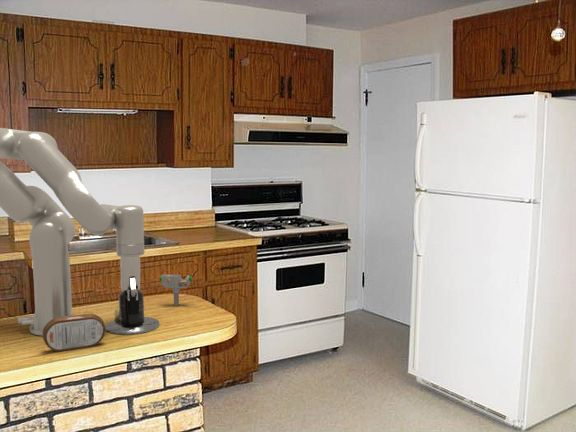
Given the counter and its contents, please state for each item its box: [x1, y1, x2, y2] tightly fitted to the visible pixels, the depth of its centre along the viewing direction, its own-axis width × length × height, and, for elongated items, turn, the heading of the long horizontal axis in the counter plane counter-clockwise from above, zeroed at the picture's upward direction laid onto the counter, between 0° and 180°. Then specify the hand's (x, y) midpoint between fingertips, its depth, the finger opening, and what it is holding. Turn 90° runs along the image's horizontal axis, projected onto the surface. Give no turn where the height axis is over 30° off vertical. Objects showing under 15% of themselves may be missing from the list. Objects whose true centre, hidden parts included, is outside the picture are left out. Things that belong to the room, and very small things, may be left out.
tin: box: [42, 313, 106, 352], centre depth 147 cm, size 15×3×8 cm, turn 118°
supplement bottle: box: [118, 288, 145, 327], centre depth 165 cm, size 7×7×12 cm
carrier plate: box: [104, 308, 160, 336], centre depth 166 cm, size 15×15×4 cm
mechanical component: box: [158, 273, 193, 307], centre depth 187 cm, size 3×10×10 cm, turn 89°
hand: (131, 309), depth 165 cm, fingers open, 7 cm apart
